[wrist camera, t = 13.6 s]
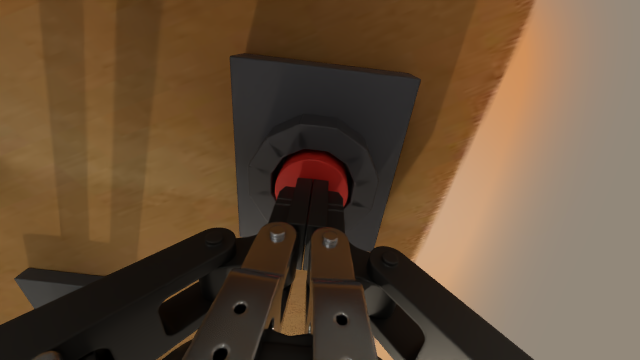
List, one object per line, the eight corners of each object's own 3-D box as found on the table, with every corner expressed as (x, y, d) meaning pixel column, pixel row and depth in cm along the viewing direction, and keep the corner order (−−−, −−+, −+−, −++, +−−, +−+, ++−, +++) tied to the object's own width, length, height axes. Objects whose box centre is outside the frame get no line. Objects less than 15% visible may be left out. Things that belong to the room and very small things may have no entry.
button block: (243, 52, 14) (213, 57, 10) (409, 73, 14) (435, 84, 10) (248, 217, 19) (229, 257, 16) (369, 231, 19) (377, 274, 16)
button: (282, 141, 13) (275, 155, 12) (351, 150, 13) (354, 164, 12) (280, 200, 15) (273, 218, 13) (341, 207, 15) (342, 226, 14)
